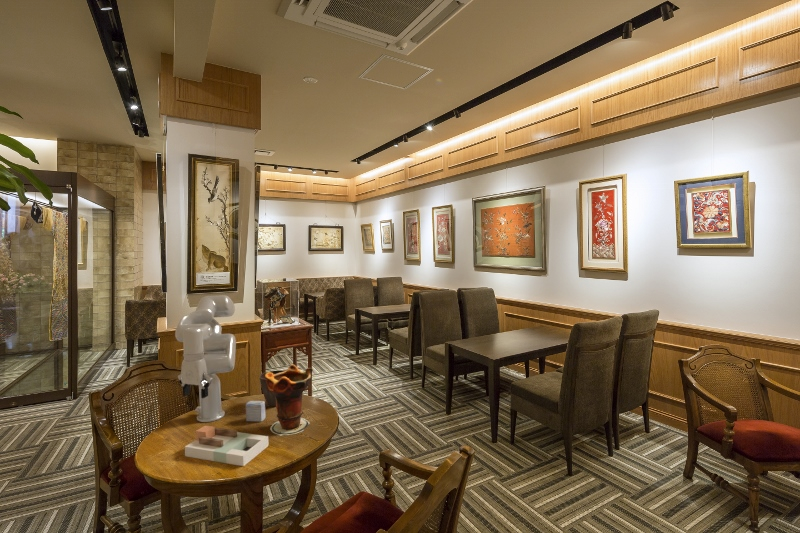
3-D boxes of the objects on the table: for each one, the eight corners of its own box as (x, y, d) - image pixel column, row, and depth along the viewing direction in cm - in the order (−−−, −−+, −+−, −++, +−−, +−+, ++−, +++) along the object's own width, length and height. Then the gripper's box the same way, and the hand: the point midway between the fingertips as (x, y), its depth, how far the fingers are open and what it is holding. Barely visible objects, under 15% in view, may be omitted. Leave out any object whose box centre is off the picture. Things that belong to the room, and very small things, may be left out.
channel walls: (199, 443, 161) (198, 437, 161) (215, 433, 170) (215, 427, 170) (221, 447, 158) (221, 441, 158) (237, 436, 167) (236, 430, 167)
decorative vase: (322, 416, 193) (319, 361, 190) (297, 441, 171) (293, 379, 168) (285, 412, 199) (282, 358, 196) (257, 435, 177) (252, 376, 174)
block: (196, 440, 164) (195, 430, 164) (205, 434, 169) (204, 425, 169) (206, 441, 163) (205, 432, 162) (214, 436, 167) (214, 426, 167)
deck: (185, 456, 159) (184, 446, 159) (214, 437, 175) (213, 428, 174) (243, 466, 151) (243, 456, 151) (268, 445, 167) (268, 436, 166)
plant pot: (268, 397, 219) (267, 369, 218) (294, 399, 217) (293, 370, 216) (255, 409, 204) (254, 379, 203) (282, 410, 202) (281, 379, 201)
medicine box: (265, 418, 194) (265, 400, 193) (261, 422, 189) (261, 404, 189) (250, 417, 194) (249, 400, 194) (246, 421, 190) (245, 404, 189)
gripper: (170, 357, 166) (172, 397, 167) (203, 360, 161) (205, 401, 162) (184, 353, 173) (186, 391, 174) (217, 355, 168) (218, 394, 169)
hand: (195, 396), depth 168 cm, fingers open, 9 cm apart
